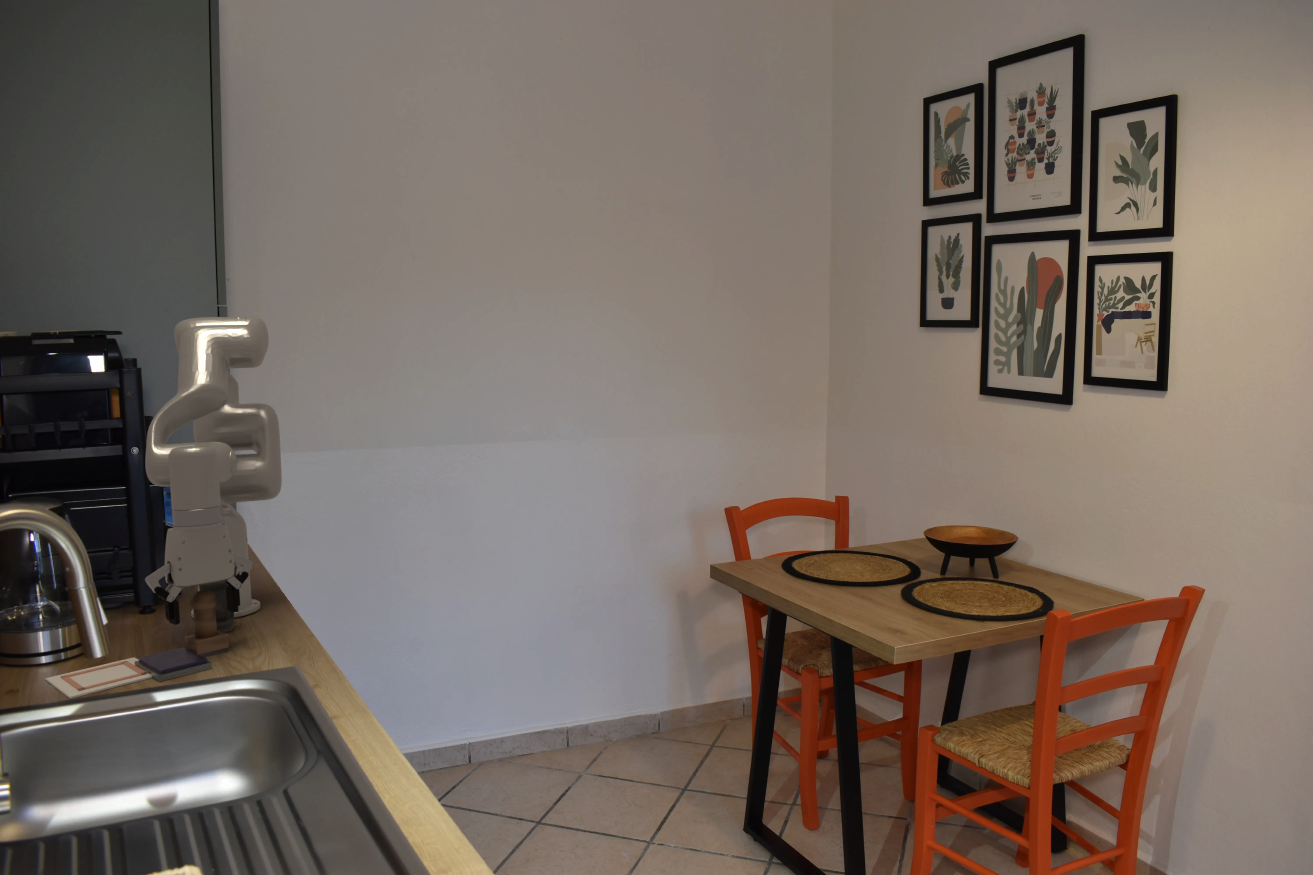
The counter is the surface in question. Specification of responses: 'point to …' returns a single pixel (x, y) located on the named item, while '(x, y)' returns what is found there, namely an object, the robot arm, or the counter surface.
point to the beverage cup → (221, 605)
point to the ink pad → (173, 664)
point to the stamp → (206, 627)
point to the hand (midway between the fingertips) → (204, 617)
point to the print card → (98, 678)
